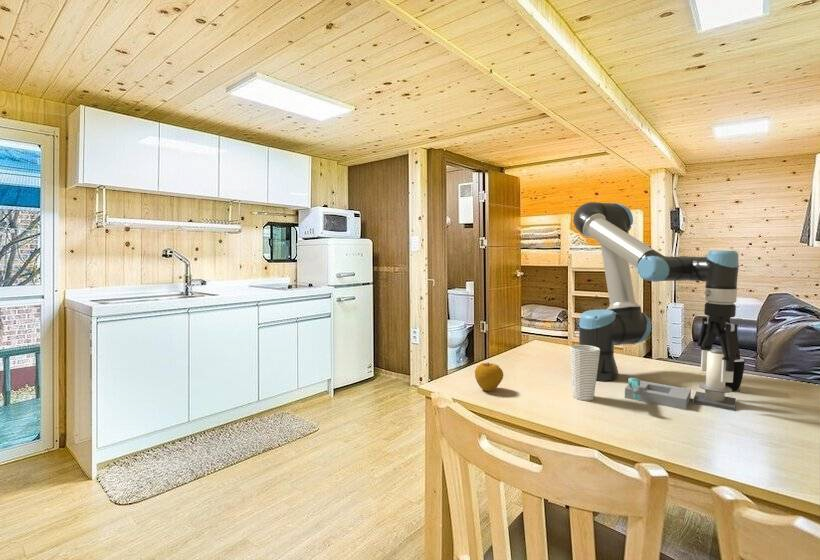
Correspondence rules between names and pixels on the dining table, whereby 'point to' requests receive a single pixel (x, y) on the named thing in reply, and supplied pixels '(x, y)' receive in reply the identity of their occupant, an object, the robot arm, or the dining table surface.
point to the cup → (584, 370)
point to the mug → (736, 375)
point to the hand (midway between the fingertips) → (715, 376)
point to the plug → (714, 377)
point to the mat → (726, 404)
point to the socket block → (661, 394)
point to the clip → (635, 387)
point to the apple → (488, 376)
